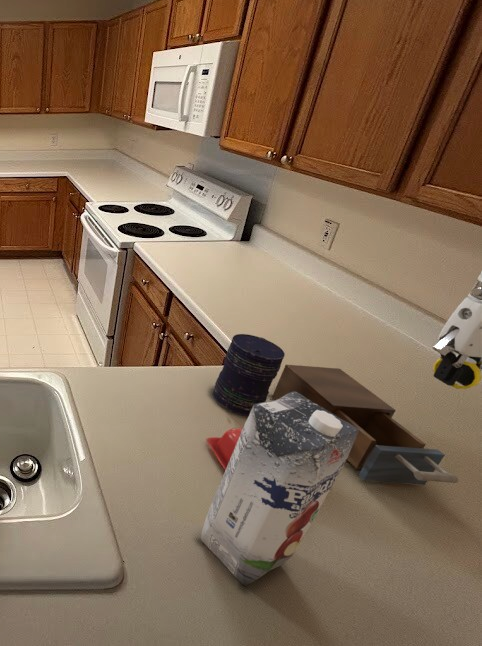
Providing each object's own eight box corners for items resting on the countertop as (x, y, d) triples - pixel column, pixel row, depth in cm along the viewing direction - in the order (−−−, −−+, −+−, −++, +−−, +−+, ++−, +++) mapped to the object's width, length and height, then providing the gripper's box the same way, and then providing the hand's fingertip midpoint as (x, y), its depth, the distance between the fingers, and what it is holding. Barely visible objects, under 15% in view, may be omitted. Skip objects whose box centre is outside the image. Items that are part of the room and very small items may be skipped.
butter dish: (233, 492, 70) (250, 455, 67) (201, 441, 81) (214, 407, 78) (300, 498, 70) (319, 461, 67) (259, 446, 81) (274, 412, 78)
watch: (425, 375, 82) (439, 350, 80) (434, 373, 82) (448, 348, 80) (465, 394, 76) (482, 368, 74) (474, 393, 77) (491, 366, 75)
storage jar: (214, 382, 100) (237, 317, 93) (261, 399, 95) (289, 332, 88) (209, 403, 92) (234, 334, 85) (260, 423, 87) (291, 352, 80)
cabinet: (375, 445, 84) (396, 410, 81) (315, 441, 84) (333, 405, 80) (324, 400, 97) (339, 368, 93) (271, 396, 96) (285, 364, 93)
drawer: (453, 510, 70) (477, 478, 67) (388, 505, 69) (409, 474, 67) (364, 433, 86) (380, 405, 83) (311, 429, 85) (325, 401, 83)
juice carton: (189, 536, 62) (248, 393, 52) (234, 514, 66) (297, 377, 56) (245, 598, 55) (326, 444, 45) (292, 568, 59) (375, 421, 49)
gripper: (481, 302, 69) (429, 391, 76) (576, 309, 69) (515, 397, 76) (436, 284, 76) (391, 367, 83) (522, 290, 76) (470, 373, 83)
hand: (451, 381), depth 79 cm, fingers closed on watch, 2 cm apart
